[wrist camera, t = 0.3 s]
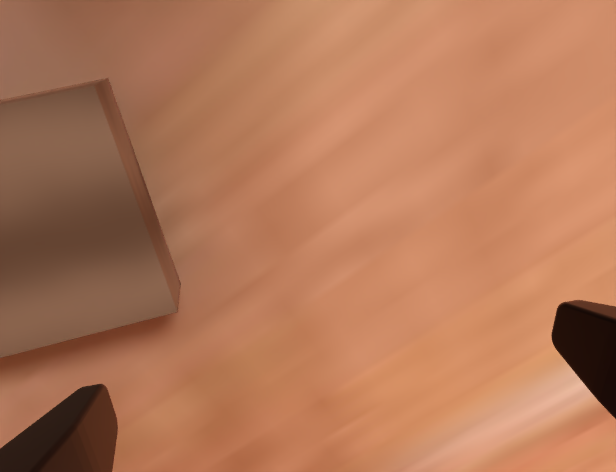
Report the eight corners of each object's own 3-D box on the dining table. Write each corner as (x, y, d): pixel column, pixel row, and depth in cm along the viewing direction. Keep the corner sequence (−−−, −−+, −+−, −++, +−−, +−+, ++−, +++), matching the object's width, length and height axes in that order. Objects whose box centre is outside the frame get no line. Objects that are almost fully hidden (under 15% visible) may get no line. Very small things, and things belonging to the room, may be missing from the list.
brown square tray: (-147, 129, 18) (-208, 147, 16) (109, 77, 19) (94, 85, 17) (-23, 330, 23) (-53, 371, 20) (181, 279, 24) (177, 312, 21)
